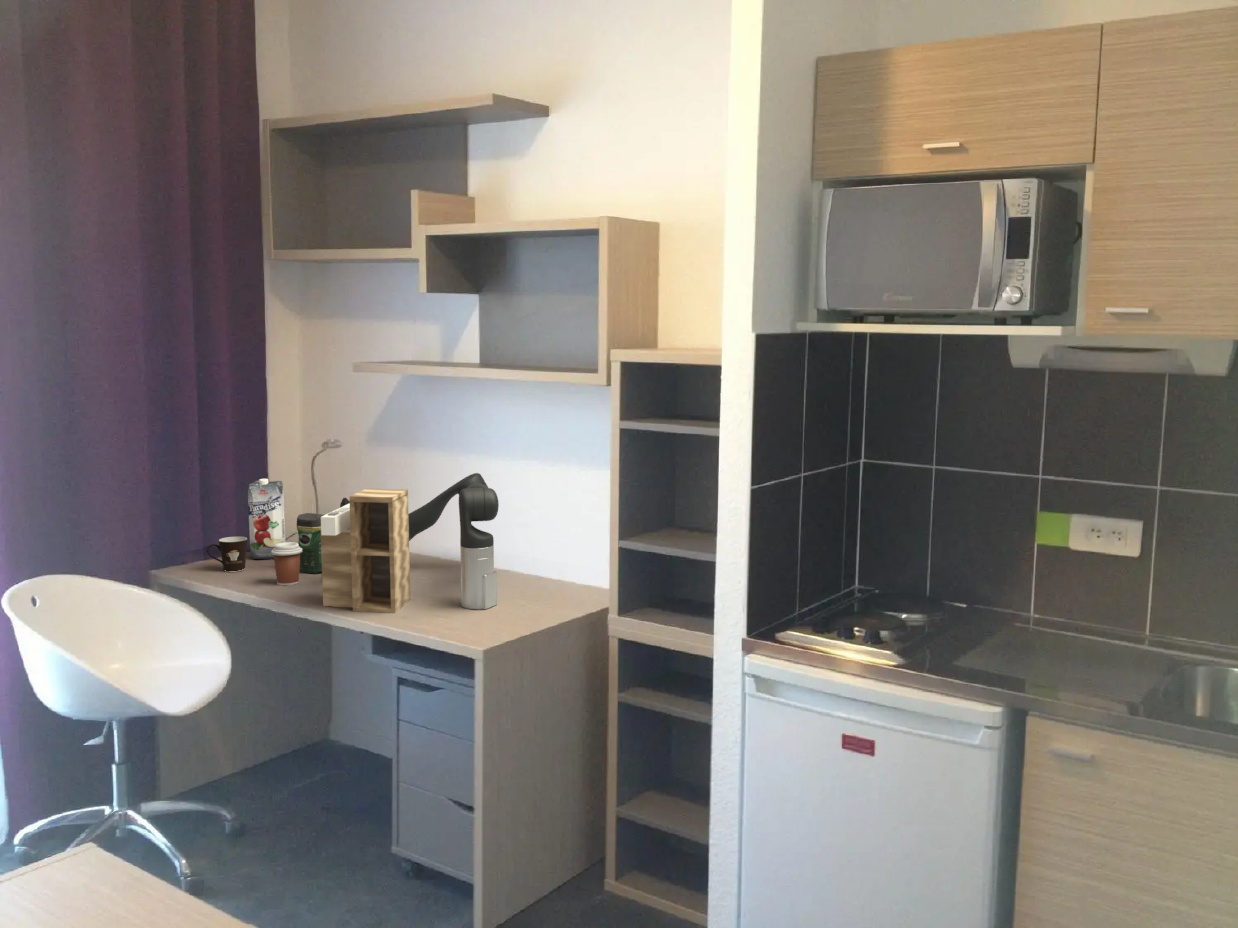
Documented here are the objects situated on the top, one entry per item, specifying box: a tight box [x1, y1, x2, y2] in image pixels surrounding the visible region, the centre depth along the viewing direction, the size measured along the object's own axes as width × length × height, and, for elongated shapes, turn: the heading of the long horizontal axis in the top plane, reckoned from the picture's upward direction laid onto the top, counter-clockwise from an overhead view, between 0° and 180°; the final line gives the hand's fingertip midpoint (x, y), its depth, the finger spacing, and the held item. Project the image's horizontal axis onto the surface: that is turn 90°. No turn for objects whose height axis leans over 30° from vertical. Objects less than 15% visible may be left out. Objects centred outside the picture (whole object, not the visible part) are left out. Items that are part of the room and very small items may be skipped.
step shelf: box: [321, 488, 411, 613], centre depth 304 cm, size 16×22×32 cm
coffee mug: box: [206, 536, 248, 571], centre depth 346 cm, size 12×9×10 cm
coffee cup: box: [271, 541, 302, 586], centre depth 329 cm, size 9×9×12 cm
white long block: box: [321, 503, 350, 536], centre depth 305 cm, size 24×4×5 cm, turn 174°
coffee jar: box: [296, 512, 325, 574], centre depth 344 cm, size 10×8×19 cm
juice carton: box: [247, 478, 286, 560], centre depth 363 cm, size 9×10×27 cm
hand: (358, 500), depth 317 cm, fingers open, 8 cm apart
